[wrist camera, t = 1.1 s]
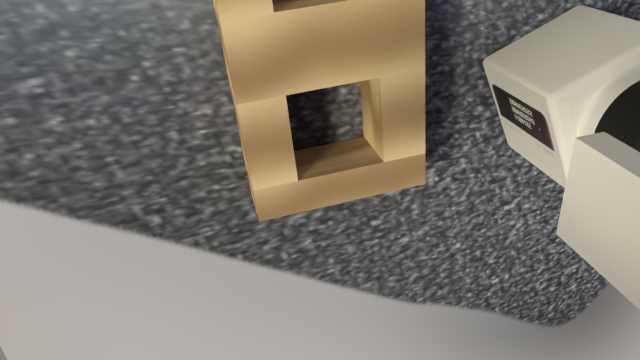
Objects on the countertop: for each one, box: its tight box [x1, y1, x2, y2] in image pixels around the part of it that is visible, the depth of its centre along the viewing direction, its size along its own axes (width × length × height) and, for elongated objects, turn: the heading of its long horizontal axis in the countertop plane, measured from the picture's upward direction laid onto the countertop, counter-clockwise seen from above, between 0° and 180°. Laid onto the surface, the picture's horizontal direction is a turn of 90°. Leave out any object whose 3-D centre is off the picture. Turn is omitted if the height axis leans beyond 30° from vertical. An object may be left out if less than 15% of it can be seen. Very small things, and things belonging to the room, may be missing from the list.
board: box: [213, 0, 426, 222], centre depth 30 cm, size 20×11×4 cm, turn 6°
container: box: [483, 5, 640, 188], centre depth 32 cm, size 8×8×13 cm
